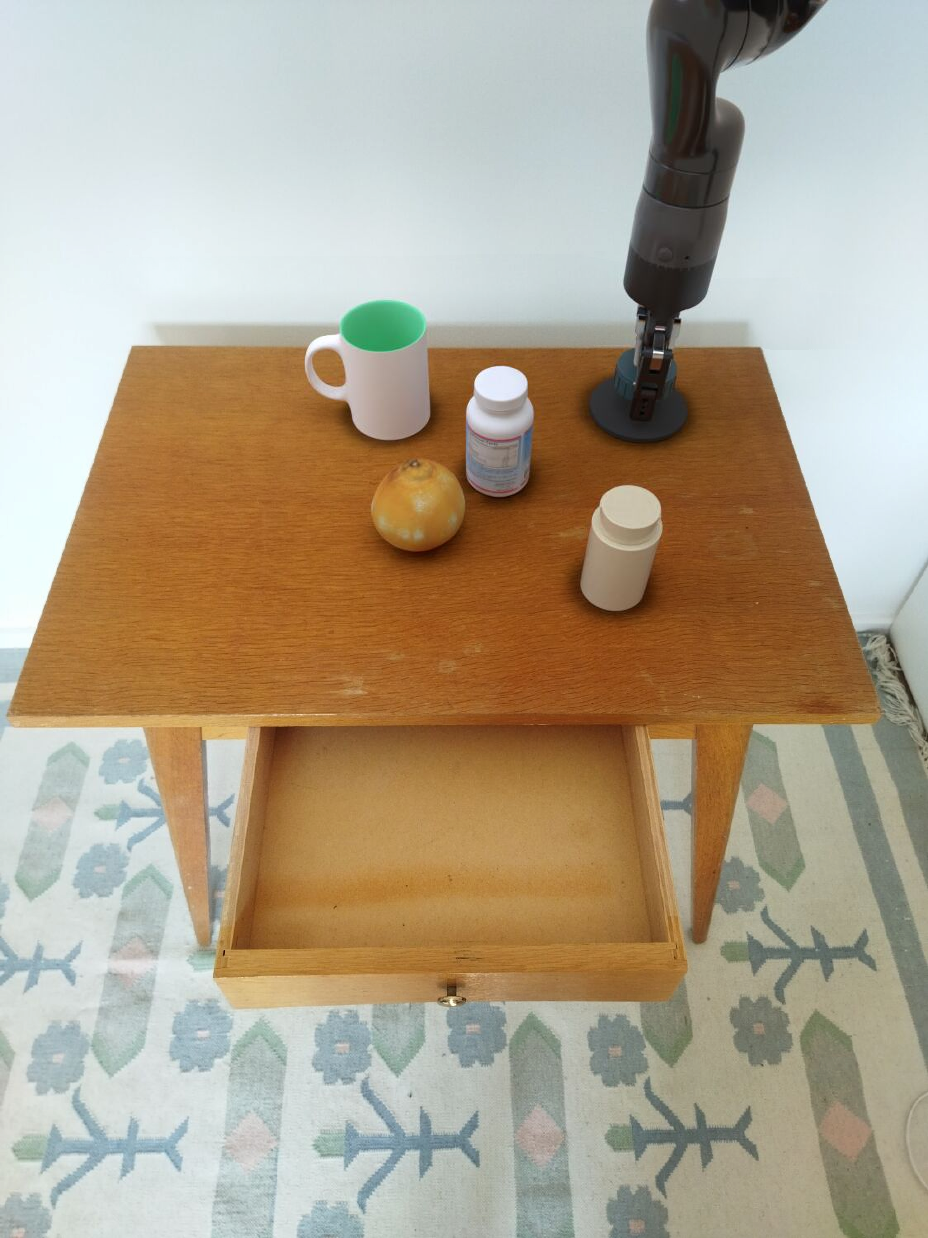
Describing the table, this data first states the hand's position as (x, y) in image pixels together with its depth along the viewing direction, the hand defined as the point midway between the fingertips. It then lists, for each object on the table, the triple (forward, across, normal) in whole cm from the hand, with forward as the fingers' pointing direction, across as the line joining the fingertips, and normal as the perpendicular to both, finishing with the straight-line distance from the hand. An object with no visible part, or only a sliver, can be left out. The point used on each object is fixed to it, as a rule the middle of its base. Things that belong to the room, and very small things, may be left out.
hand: (641, 397), depth 84 cm
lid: (-4, 0, 0) cm, 4 cm away
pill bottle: (+2, -12, +13) cm, 18 cm away
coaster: (+2, 0, 0) cm, 2 cm away
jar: (+2, -24, +1) cm, 24 cm away
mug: (+2, -5, +27) cm, 28 cm away
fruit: (+2, -20, +19) cm, 28 cm away
